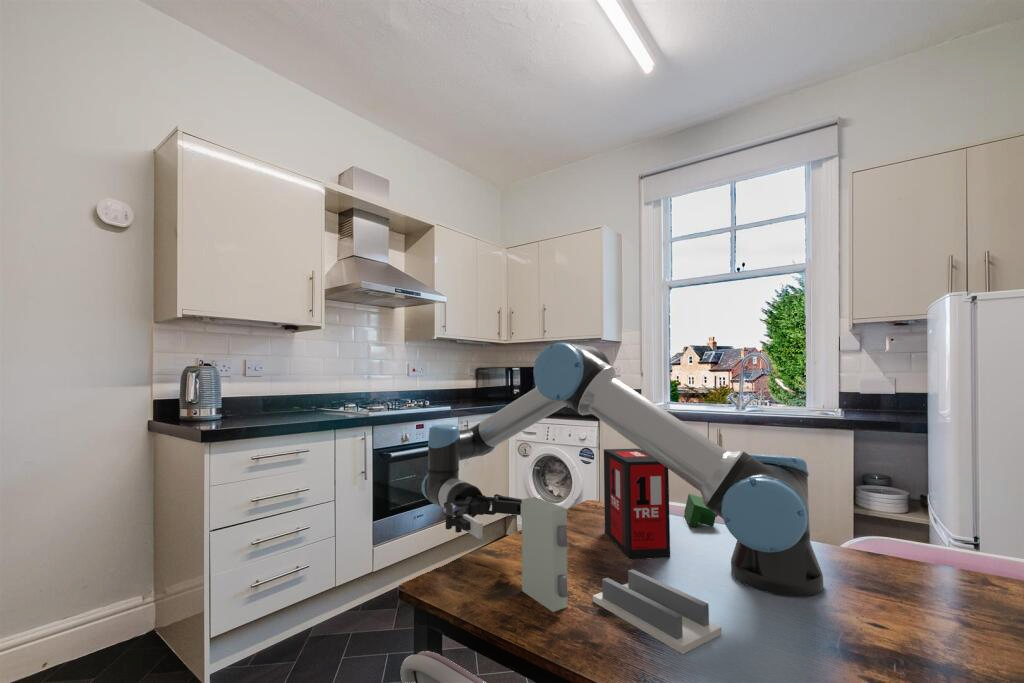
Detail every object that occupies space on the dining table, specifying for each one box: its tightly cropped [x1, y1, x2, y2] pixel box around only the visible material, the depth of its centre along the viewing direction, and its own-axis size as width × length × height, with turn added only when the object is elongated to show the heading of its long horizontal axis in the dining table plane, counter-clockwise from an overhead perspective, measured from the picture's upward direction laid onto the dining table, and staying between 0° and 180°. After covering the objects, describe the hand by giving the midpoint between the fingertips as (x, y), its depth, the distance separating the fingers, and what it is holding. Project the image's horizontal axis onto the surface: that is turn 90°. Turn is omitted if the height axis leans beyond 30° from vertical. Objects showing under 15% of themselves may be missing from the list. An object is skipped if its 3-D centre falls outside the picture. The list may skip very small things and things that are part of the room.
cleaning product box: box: [603, 448, 671, 560], centre depth 108 cm, size 16×9×20 cm, turn 7°
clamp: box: [683, 493, 719, 528], centre depth 123 cm, size 12×6×9 cm, turn 161°
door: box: [521, 496, 568, 613], centre depth 81 cm, size 10×3×16 cm, turn 33°
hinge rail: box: [592, 568, 723, 655], centre depth 75 cm, size 18×9×4 cm, turn 33°
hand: (512, 524), depth 90 cm, fingers open, 13 cm apart
